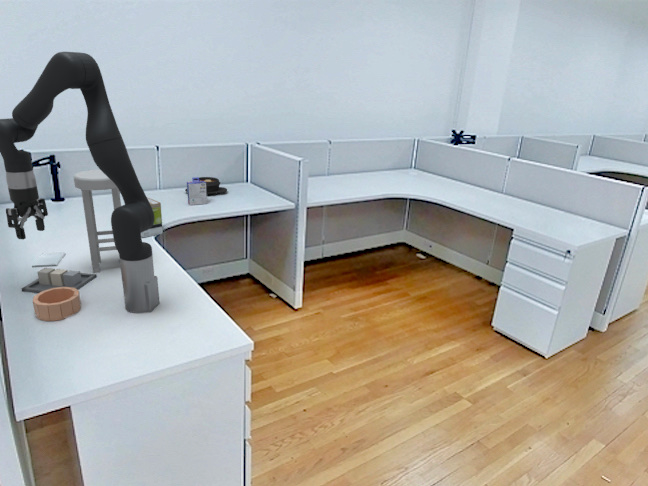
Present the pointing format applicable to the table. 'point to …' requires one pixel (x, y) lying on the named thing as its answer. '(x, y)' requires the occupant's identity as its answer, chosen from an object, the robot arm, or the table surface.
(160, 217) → the tea box
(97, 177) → the stool
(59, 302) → the bowl
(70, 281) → the light gray block
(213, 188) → the casserole
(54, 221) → the table surface
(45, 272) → the pale grey cuboid
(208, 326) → the table surface
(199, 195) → the ink cartridge box
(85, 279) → the tray
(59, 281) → the off-white cubic block
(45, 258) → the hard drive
